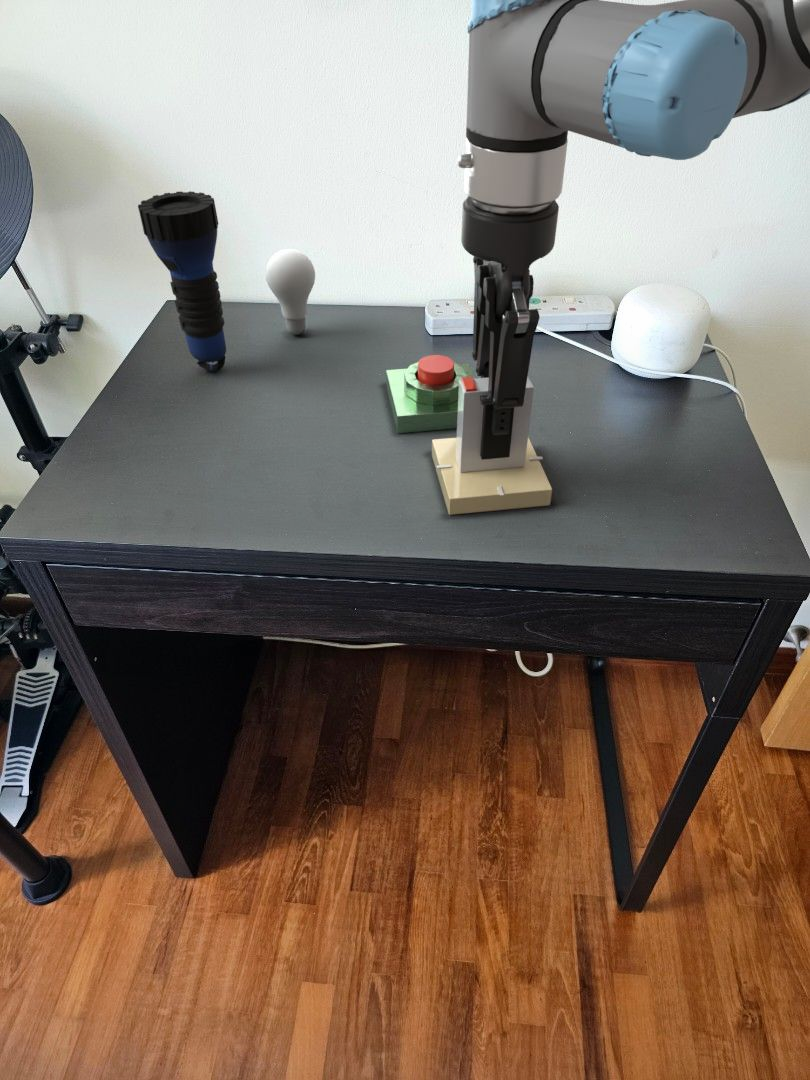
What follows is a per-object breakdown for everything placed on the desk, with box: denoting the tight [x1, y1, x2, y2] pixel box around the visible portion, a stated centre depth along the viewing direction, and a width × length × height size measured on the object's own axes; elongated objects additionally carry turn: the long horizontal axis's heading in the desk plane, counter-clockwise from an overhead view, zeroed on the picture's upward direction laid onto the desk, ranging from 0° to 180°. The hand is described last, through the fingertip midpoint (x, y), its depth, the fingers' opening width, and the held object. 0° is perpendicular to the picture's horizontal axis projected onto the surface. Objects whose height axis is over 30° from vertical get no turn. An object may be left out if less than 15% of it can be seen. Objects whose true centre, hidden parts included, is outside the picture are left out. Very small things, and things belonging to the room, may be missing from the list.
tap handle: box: [456, 376, 535, 472], centre depth 75 cm, size 6×2×9 cm, turn 98°
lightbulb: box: [265, 248, 316, 336], centre depth 100 cm, size 6×6×11 cm
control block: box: [385, 361, 477, 434], centre depth 89 cm, size 10×10×4 cm
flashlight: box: [137, 190, 227, 372], centre depth 90 cm, size 8×8×20 cm
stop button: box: [417, 354, 454, 386], centre depth 87 cm, size 4×4×2 cm
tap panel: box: [431, 436, 553, 516], centre depth 79 cm, size 11×11×2 cm
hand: (491, 446), depth 77 cm, fingers closed on tap handle, 2 cm apart
